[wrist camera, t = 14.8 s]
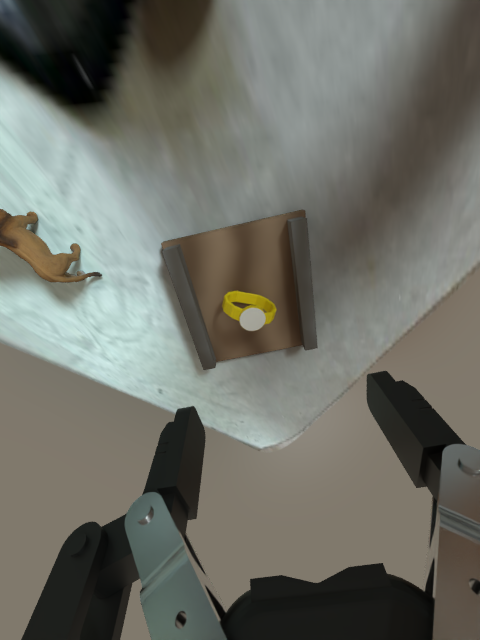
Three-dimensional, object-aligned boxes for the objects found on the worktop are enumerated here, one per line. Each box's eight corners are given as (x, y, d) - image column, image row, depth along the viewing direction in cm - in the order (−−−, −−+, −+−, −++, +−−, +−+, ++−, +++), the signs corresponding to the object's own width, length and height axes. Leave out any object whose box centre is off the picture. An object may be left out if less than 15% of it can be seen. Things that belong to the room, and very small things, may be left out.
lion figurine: (-9, 225, 28) (-81, 237, 21) (2, 190, 26) (-72, 191, 20) (97, 287, 31) (62, 312, 25) (112, 259, 30) (79, 278, 23)
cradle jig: (302, 209, 28) (310, 212, 25) (313, 337, 36) (320, 350, 33) (163, 241, 29) (156, 247, 26) (203, 359, 37) (201, 373, 34)
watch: (221, 302, 32) (219, 326, 26) (225, 282, 30) (225, 301, 25) (267, 312, 32) (274, 336, 27) (273, 292, 31) (282, 313, 26)
